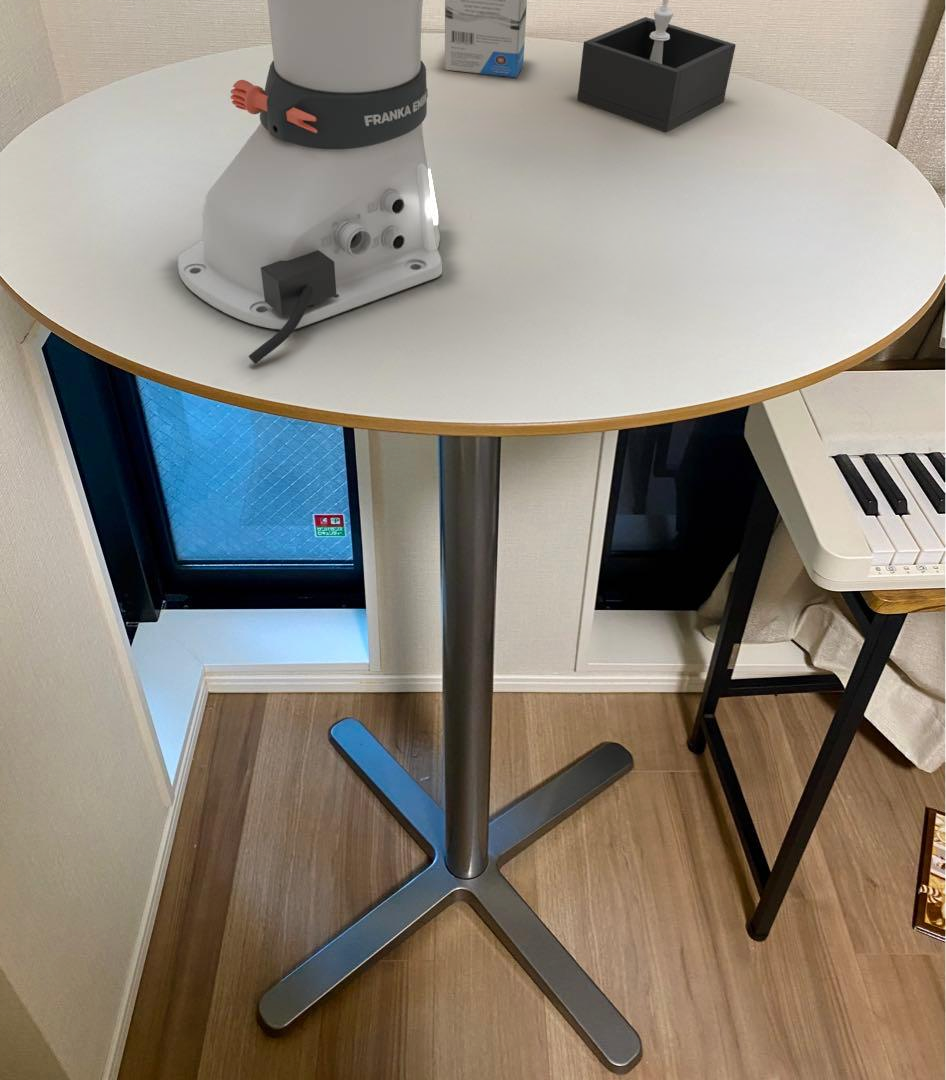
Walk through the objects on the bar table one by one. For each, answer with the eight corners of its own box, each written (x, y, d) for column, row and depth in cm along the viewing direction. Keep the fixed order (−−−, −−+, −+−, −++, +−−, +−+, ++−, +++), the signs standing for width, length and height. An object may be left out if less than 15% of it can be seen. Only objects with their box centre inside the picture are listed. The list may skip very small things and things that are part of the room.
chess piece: (625, 96, 107) (639, -6, 100) (632, 79, 110) (646, -20, 103) (670, 102, 106) (688, 1, 99) (676, 86, 109) (694, -14, 102)
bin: (666, 132, 103) (677, 72, 99) (577, 100, 108) (583, 41, 104) (723, 101, 109) (736, 44, 105) (636, 72, 114) (645, 16, 110)
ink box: (524, 64, 115) (533, -50, 107) (516, 79, 111) (524, -37, 103) (452, 55, 116) (455, -59, 108) (442, 70, 113) (444, -46, 104)
